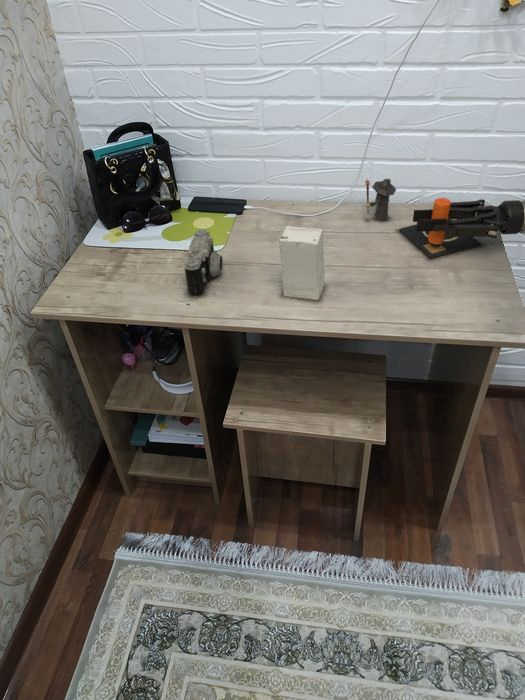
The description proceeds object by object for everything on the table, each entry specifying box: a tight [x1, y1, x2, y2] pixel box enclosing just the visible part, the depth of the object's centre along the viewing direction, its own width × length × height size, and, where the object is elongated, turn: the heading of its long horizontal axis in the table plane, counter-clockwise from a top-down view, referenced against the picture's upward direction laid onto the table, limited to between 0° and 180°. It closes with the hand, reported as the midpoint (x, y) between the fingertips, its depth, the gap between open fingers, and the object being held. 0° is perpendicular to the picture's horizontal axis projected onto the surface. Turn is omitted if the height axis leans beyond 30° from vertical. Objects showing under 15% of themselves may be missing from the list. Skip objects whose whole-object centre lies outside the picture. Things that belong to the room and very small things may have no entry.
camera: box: [183, 228, 224, 298], centre depth 129 cm, size 15×7×10 cm, turn 173°
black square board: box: [398, 219, 482, 260], centre depth 140 cm, size 14×14×1 cm
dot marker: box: [428, 197, 452, 247], centre depth 131 cm, size 4×4×11 cm
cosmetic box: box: [278, 225, 325, 301], centre depth 122 cm, size 8×6×15 cm
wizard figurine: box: [364, 178, 397, 221], centre depth 144 cm, size 8×6×12 cm
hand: (415, 220), depth 131 cm, fingers closed on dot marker, 4 cm apart
